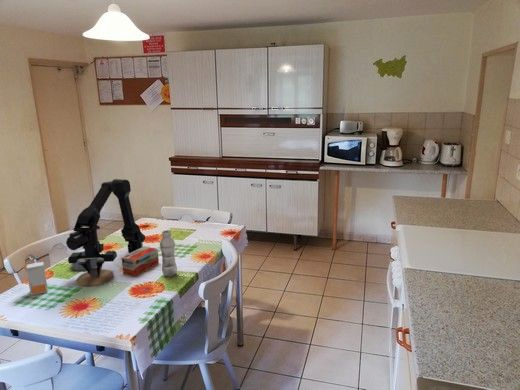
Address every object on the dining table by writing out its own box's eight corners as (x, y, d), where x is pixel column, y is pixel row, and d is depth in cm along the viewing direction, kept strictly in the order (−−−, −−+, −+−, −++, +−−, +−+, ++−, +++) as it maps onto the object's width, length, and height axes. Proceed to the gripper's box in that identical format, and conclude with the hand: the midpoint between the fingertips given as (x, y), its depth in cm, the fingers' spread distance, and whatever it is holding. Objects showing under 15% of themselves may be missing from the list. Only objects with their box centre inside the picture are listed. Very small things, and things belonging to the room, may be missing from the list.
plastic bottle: (180, 272, 171) (177, 230, 166) (172, 278, 165) (168, 235, 160) (167, 270, 173) (164, 228, 168) (159, 277, 167) (155, 233, 162)
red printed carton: (146, 260, 184) (144, 245, 182) (159, 263, 181) (158, 248, 179) (122, 273, 171) (120, 256, 169) (135, 276, 168) (134, 260, 166)
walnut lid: (118, 270, 175) (117, 261, 173) (108, 285, 160) (107, 276, 159) (84, 271, 173) (82, 263, 172) (71, 287, 159) (69, 278, 158)
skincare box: (30, 295, 152) (25, 268, 150) (31, 291, 156) (26, 264, 153) (47, 292, 155) (43, 265, 152) (48, 287, 159) (43, 261, 156)
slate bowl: (103, 259, 187) (102, 249, 186) (95, 269, 175) (94, 259, 174) (78, 260, 186) (77, 250, 185) (68, 271, 174) (67, 260, 173)
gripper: (118, 234, 171) (122, 266, 175) (75, 235, 170) (80, 268, 173) (111, 243, 160) (115, 277, 164) (65, 245, 159) (70, 279, 163)
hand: (95, 275), depth 166 cm, fingers closed on walnut lid, 3 cm apart
